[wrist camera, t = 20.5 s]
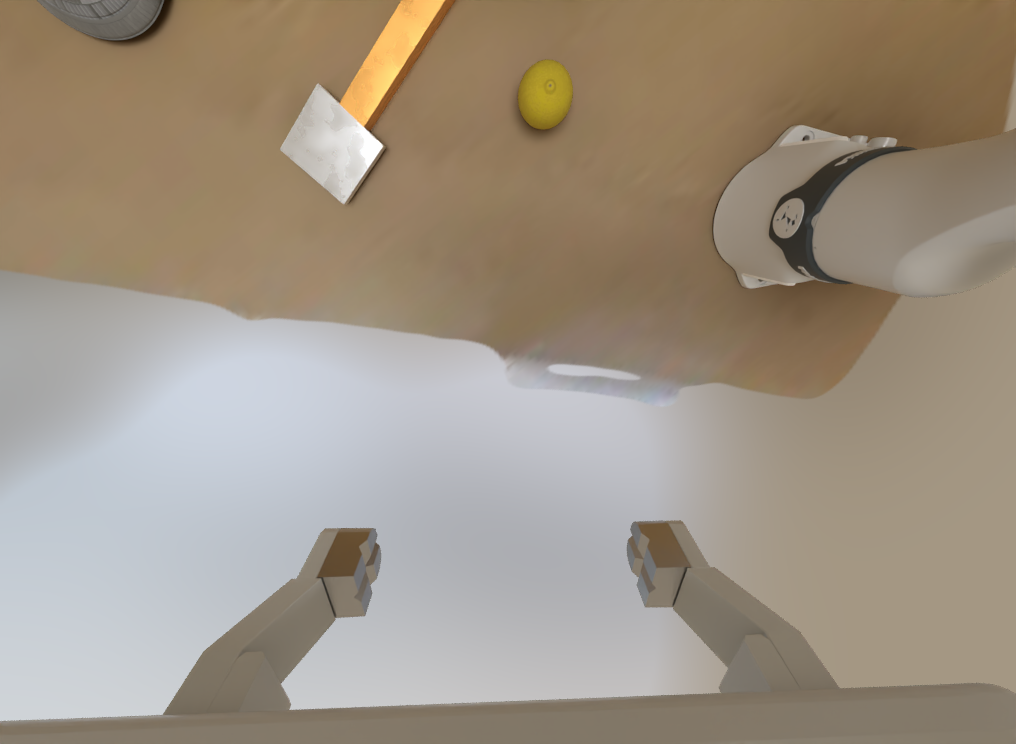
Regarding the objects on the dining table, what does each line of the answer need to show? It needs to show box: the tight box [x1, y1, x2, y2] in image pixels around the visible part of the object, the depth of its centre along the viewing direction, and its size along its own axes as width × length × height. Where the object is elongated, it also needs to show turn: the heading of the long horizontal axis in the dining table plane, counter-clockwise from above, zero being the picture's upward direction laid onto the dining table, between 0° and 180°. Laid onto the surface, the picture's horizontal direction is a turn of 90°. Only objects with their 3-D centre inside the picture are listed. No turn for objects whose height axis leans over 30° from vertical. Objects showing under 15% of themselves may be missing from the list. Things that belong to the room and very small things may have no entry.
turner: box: [280, 0, 455, 204], centre depth 38 cm, size 24×8×2 cm, turn 137°
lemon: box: [518, 60, 573, 130], centre depth 36 cm, size 6×6×8 cm
